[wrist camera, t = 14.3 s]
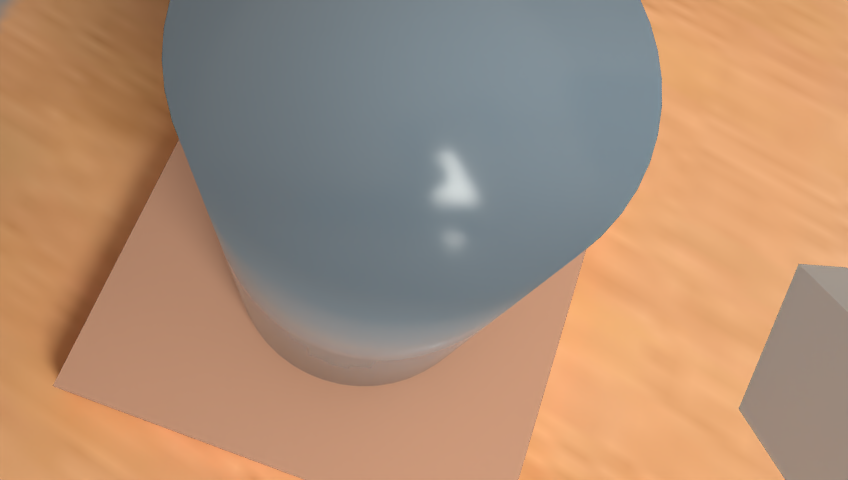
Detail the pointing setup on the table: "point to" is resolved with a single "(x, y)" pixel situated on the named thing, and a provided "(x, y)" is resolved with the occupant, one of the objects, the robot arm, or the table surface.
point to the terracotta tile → (288, 385)
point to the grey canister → (406, 160)
